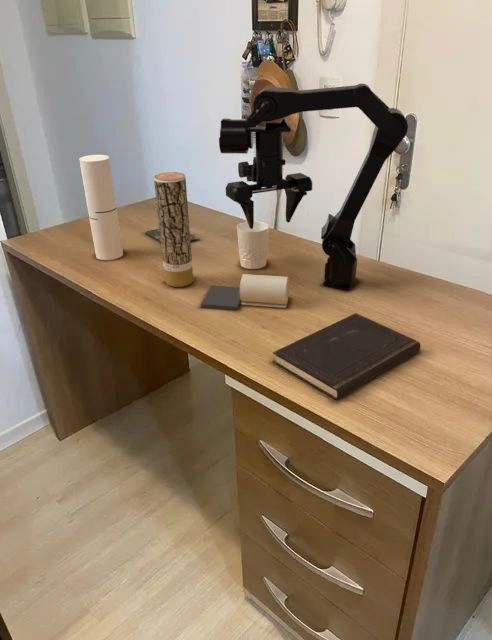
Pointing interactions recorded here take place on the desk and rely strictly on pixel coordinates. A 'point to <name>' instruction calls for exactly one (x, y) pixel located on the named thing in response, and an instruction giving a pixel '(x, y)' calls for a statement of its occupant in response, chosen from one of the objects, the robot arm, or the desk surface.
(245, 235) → the white cup
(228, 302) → the slate coaster
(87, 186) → the cylindrical container
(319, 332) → the hardcover book
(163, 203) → the brown bark cylinder
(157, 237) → the eiffel tower figurine
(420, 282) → the desk surface
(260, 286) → the cylinder
